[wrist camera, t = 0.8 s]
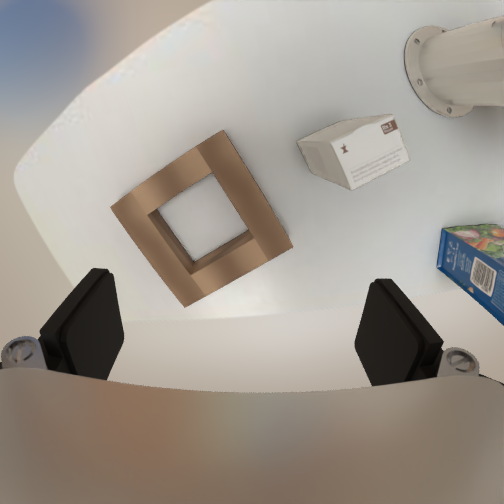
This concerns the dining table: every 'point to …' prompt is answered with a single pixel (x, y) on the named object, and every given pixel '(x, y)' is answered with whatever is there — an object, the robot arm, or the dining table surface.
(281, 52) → the dining table surface
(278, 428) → the robot arm
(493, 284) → the blue food package
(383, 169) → the skincare box
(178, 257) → the wooden square frame
